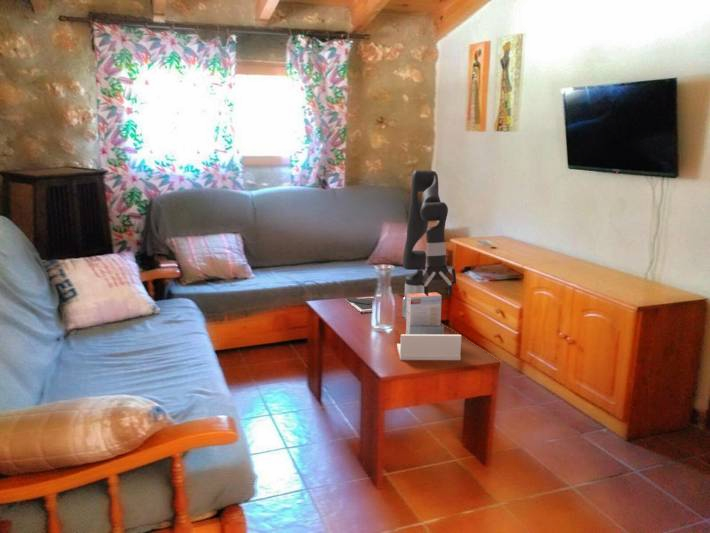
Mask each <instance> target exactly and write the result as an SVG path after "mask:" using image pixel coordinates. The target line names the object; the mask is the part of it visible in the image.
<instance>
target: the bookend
mask: <svg viewBox="0 0 710 533" xmlns="http://www.w3.org/2000/svg"><path fill="white" fill-rule="evenodd" d="M410 334H441V335H445V326H444V325H441V324H440V325H410Z"/></svg>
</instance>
